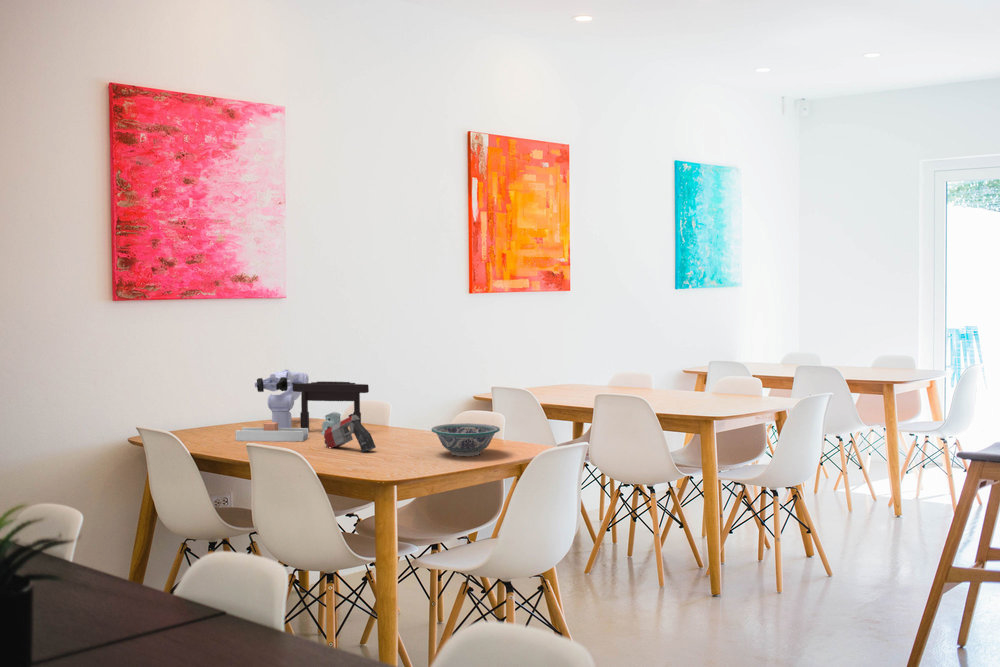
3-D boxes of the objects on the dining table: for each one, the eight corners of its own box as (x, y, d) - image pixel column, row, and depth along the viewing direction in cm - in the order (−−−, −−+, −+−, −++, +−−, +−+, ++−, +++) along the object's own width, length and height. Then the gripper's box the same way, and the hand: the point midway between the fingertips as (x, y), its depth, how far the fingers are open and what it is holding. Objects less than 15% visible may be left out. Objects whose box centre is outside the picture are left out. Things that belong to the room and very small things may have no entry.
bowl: (429, 460, 340) (429, 433, 340) (433, 448, 365) (433, 423, 365) (500, 460, 341) (500, 433, 340) (499, 448, 366) (499, 423, 365)
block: (267, 433, 388) (267, 422, 387) (278, 433, 387) (278, 422, 387) (263, 435, 383) (263, 424, 383) (274, 435, 383) (274, 424, 383)
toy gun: (339, 465, 369) (327, 429, 372) (377, 446, 358) (364, 408, 361) (330, 467, 365) (317, 430, 368) (368, 448, 354) (355, 410, 357)
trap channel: (242, 437, 391) (242, 427, 390) (308, 438, 389) (308, 428, 388) (235, 440, 382) (235, 430, 382) (302, 441, 380) (302, 431, 380)
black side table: (363, 384, 394) (285, 383, 398) (363, 435, 395) (286, 433, 400) (373, 380, 409) (298, 379, 414) (374, 429, 410) (299, 428, 415)
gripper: (258, 373, 398) (248, 378, 384) (293, 371, 397) (285, 376, 384) (259, 389, 399) (250, 395, 385) (294, 388, 398) (286, 394, 385)
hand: (267, 387), depth 385 cm, fingers open, 7 cm apart
